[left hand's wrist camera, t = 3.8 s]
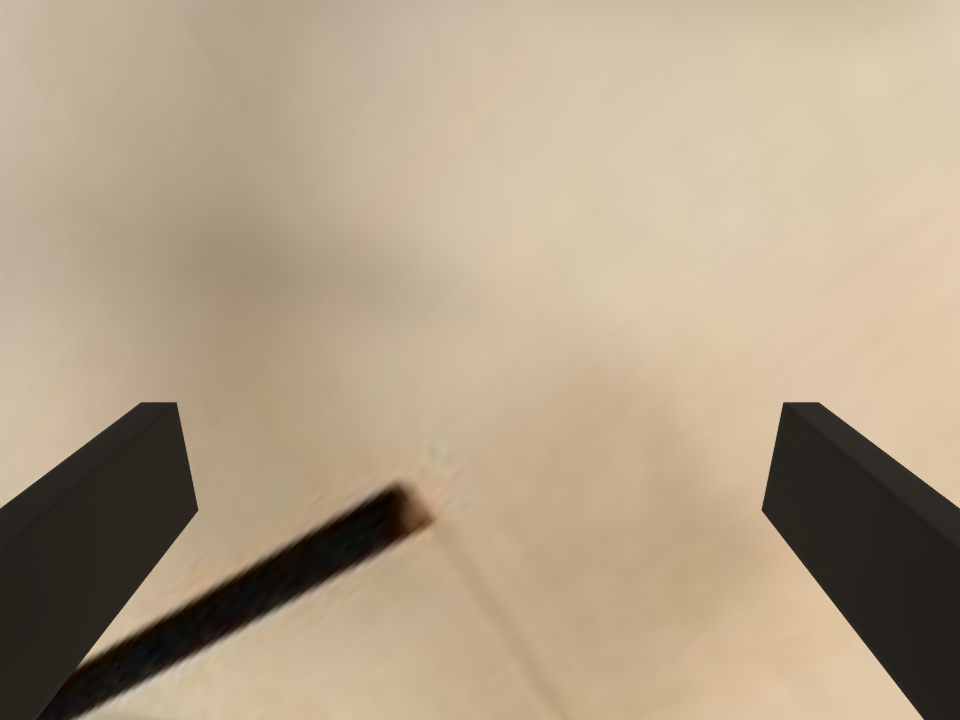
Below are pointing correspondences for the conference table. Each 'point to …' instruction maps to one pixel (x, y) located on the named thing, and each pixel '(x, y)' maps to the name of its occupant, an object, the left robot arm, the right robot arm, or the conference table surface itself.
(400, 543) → the conference table surface
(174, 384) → the conference table surface
